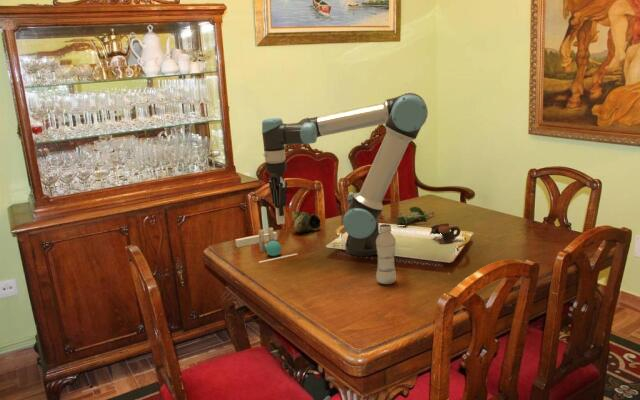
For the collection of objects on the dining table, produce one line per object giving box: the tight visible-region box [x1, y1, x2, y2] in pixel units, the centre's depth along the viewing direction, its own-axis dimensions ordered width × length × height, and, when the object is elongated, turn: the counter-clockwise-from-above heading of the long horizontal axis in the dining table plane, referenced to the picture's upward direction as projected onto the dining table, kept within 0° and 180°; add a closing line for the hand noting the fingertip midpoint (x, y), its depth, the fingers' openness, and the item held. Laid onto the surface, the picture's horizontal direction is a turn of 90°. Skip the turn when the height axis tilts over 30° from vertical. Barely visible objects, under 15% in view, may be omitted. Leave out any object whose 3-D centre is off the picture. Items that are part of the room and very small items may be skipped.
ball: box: [265, 240, 282, 257], centre depth 219 cm, size 6×6×6 cm
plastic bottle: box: [375, 223, 397, 285], centre depth 185 cm, size 6×7×20 cm
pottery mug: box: [429, 223, 461, 245], centre depth 226 cm, size 12×10×8 cm
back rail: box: [234, 231, 278, 248], centre depth 236 cm, size 18×2×3 cm, turn 117°
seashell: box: [291, 211, 321, 234], centre depth 246 cm, size 11×11×10 cm
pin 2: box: [267, 227, 275, 243], centre depth 226 cm, size 2×2×9 cm
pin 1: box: [258, 228, 266, 253], centre depth 224 cm, size 2×2×9 cm
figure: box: [396, 206, 435, 227], centre depth 254 cm, size 16×7×25 cm
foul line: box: [258, 252, 298, 264], centre depth 216 cm, size 16×1×1 cm, turn 117°
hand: (281, 223), depth 209 cm, fingers closed
